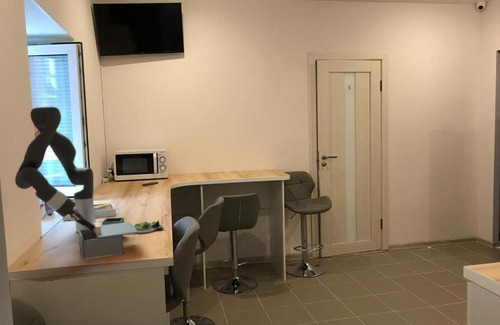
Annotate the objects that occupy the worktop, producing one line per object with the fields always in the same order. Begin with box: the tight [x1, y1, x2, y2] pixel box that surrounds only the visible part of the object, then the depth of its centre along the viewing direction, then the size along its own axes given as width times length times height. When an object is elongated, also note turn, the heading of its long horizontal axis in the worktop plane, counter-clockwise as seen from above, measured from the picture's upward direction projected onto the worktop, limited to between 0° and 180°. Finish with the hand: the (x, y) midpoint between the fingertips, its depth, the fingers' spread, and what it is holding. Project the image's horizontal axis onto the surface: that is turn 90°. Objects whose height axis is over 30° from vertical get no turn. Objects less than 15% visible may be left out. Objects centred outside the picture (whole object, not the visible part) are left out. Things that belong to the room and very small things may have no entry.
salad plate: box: [132, 220, 164, 234], centre depth 215 cm, size 19×18×5 cm
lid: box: [93, 221, 140, 238], centre depth 182 cm, size 17×21×4 cm
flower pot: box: [101, 217, 125, 225], centre depth 201 cm, size 9×9×9 cm
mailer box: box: [78, 229, 124, 261], centre depth 180 cm, size 16×20×8 cm
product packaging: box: [63, 202, 116, 222], centre depth 255 cm, size 22×28×5 cm
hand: (93, 228), depth 178 cm, fingers closed
